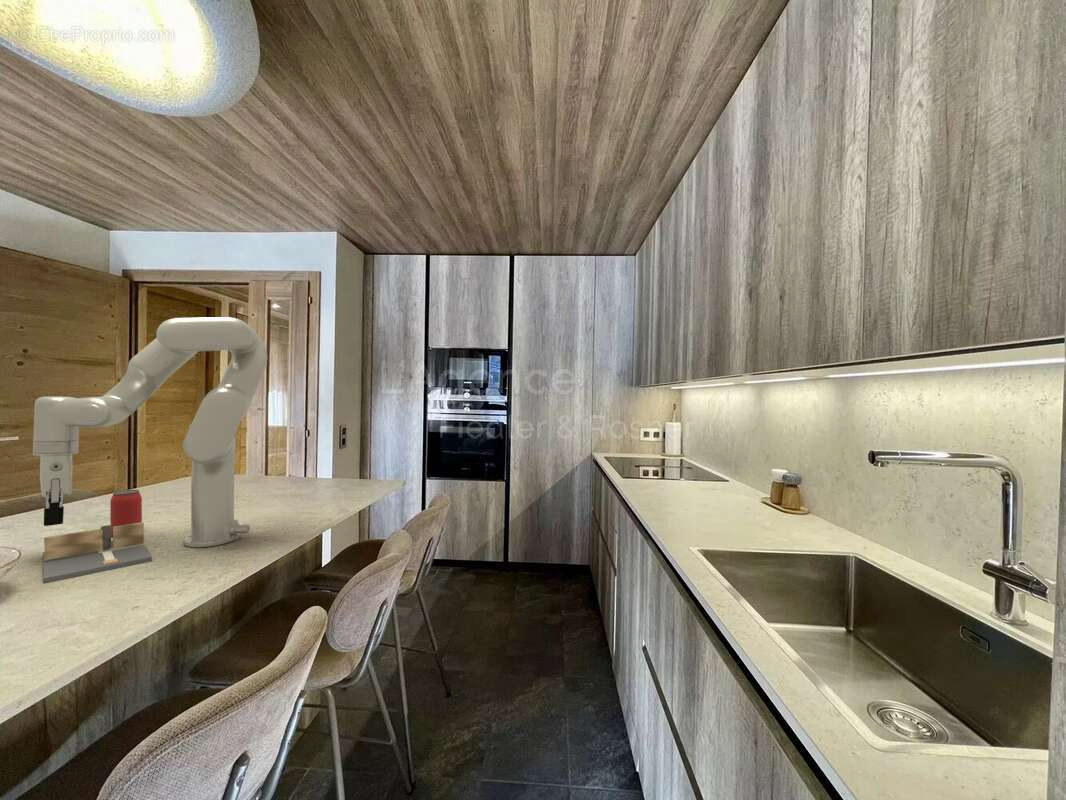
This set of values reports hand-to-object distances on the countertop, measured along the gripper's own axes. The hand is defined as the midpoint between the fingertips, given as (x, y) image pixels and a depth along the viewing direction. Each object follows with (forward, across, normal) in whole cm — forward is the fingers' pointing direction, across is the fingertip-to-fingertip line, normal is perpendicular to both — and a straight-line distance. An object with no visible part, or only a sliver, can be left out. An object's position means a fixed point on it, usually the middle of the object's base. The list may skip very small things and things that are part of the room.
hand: (53, 524), depth 109 cm
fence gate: (+6, -6, -4) cm, 10 cm away
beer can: (+8, +11, -14) cm, 20 cm away
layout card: (+8, -8, -7) cm, 13 cm away
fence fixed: (+7, -6, -13) cm, 16 cm away
